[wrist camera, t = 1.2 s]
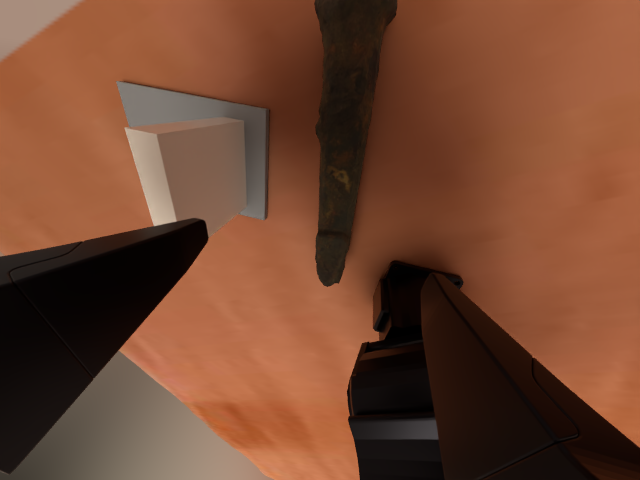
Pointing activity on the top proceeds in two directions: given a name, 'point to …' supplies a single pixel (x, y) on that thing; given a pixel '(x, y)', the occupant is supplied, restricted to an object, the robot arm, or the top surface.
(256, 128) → the mat
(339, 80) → the hand tool
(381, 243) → the top surface
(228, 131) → the tile
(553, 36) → the top surface
